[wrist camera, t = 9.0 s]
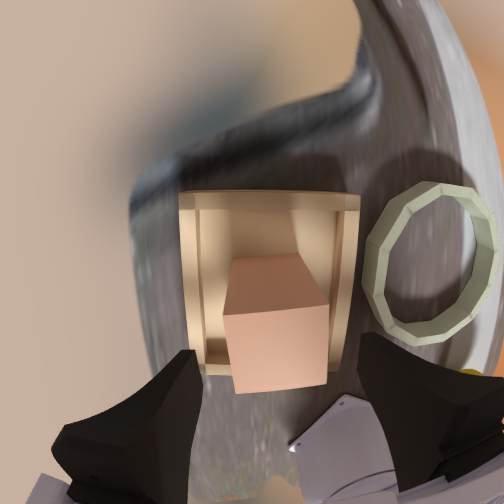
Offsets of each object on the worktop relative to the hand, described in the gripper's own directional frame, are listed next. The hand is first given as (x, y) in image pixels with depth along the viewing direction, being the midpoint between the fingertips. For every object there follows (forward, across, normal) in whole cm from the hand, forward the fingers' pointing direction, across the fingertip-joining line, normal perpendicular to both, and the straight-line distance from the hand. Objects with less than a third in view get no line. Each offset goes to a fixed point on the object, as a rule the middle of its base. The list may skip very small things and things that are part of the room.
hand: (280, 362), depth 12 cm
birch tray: (+10, 0, 0) cm, 10 cm away
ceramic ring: (+10, -14, 0) cm, 17 cm away
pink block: (+8, 0, 0) cm, 9 cm away
